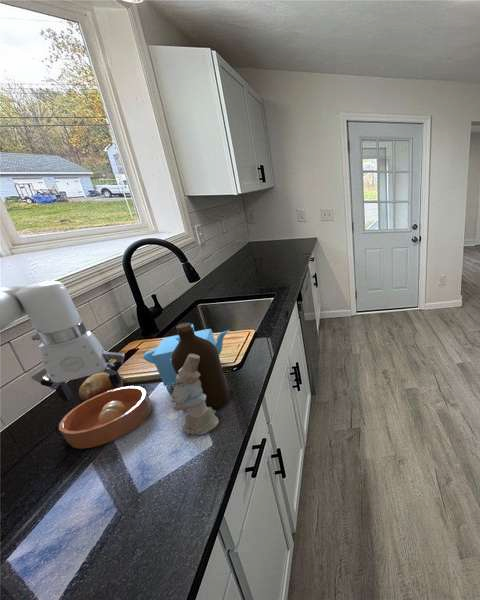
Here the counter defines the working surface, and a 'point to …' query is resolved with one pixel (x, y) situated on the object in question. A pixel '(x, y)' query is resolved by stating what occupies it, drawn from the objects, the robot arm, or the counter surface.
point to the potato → (111, 411)
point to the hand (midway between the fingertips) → (93, 391)
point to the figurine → (193, 399)
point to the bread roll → (97, 386)
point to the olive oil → (202, 365)
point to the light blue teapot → (166, 349)
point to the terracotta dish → (89, 432)
